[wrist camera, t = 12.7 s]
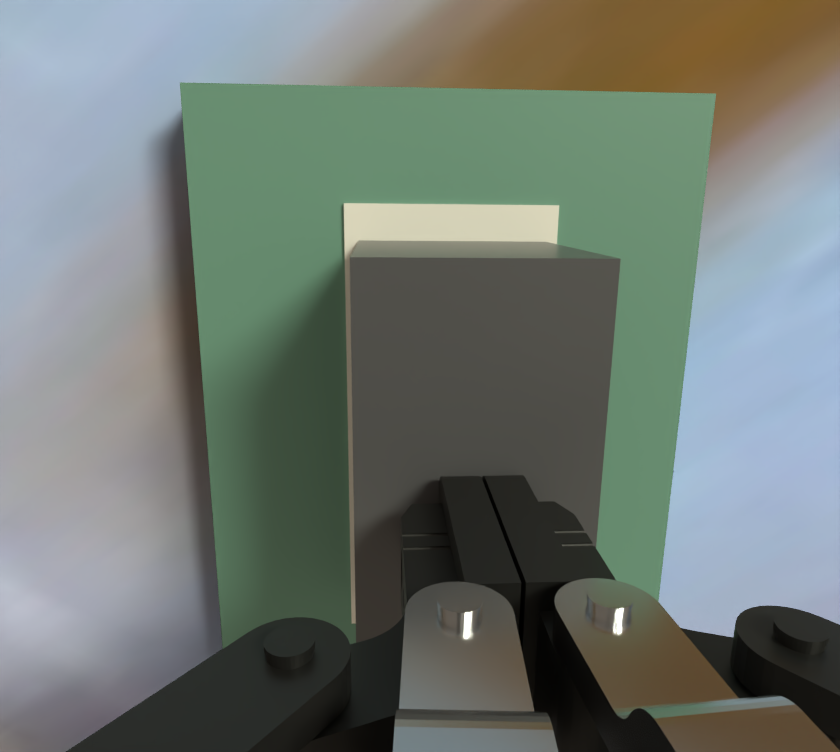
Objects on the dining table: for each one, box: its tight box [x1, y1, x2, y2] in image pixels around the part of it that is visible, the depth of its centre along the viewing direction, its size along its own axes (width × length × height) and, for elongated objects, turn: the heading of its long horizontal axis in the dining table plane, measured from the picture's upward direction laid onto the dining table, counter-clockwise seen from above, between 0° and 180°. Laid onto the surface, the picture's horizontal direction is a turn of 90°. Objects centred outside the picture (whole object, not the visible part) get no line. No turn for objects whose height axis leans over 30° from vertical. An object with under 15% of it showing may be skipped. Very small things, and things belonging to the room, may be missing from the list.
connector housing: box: [350, 240, 621, 643], centre depth 14 cm, size 9×4×5 cm, turn 179°
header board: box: [180, 83, 716, 648], centre depth 16 cm, size 16×12×5 cm
